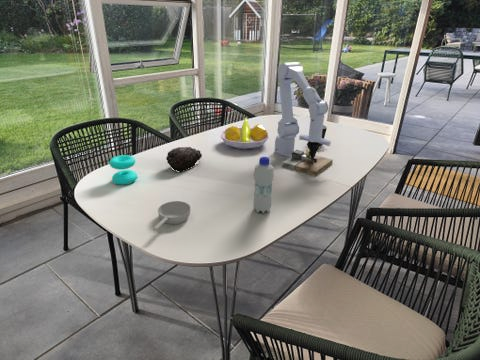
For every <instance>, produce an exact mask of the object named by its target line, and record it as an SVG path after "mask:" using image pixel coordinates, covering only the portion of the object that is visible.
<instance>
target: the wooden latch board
mask: <svg viewBox="0 0 480 360" xmlns="http://www.w3.org/2000/svg"><path fill="white" fill-rule="evenodd" d="M304 155H306V152H304ZM315 158H317V162H315V161H314V164H310V163H307V161H306V160H302V159H300V160H295V159H292V156H290V157H288V158H287V159H286V160H283V161H282V164H281V165H282V167H283V168H287V169H291V170H295V171H297V172H298V171H299V172H301V173H305V174H308V175H312V176H316V177H317V175H319V174H320V173H322V172H323V171H324V170H325V169H327V168H328V167H330V166H331V165H332V164H333V161H334V160H333V159H332V158H327V157H324V156H319V155H317V154H316V155H315Z"/></svg>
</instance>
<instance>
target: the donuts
mask: <svg viewBox="0 0 480 360" xmlns="http://www.w3.org/2000/svg"><path fill="white" fill-rule="evenodd" d="M108 163H109V166H110V167H111V168H112V169H115V170H118V171H117V172H115V173H114V174H113V175H112V176H111V177H112V178H111V180H112V182H113V183H114V184H115V183H116V185H118V184H127V185H130V184H129V183H131V184H133V183H134V181H135V180H136V179H137V180H138V173H137V172H135V171H133V170H131V169H130V168H132V167H133V166H134V165H135V164H136V159H135V157H134V156H132V155H128V154H123V155H122V154H121V155H116V156H113V157H112V158H110V160H109V162H108ZM129 169H130V170H129ZM137 180H136V181H137ZM136 181H135V182H136ZM132 182H133V183H132Z"/></svg>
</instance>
